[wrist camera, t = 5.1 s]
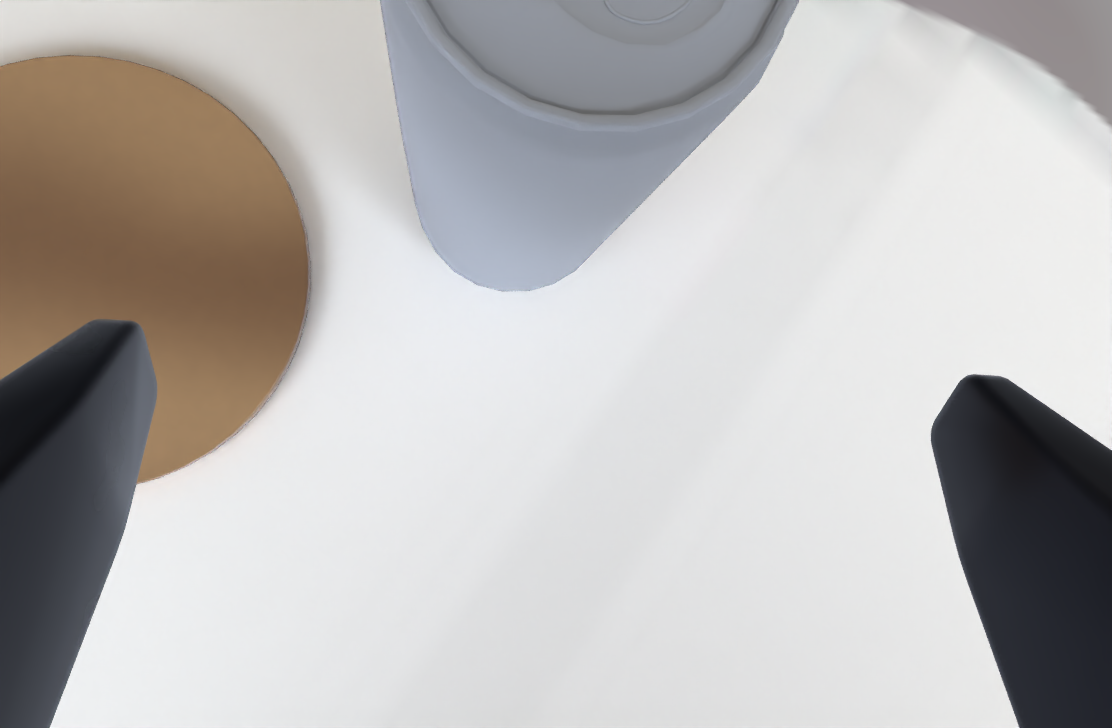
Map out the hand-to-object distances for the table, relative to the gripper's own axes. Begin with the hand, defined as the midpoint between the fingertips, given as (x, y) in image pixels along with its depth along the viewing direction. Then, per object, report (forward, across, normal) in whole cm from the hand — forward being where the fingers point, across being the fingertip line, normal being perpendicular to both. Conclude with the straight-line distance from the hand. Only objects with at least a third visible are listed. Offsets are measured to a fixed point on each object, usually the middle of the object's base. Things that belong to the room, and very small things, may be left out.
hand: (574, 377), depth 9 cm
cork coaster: (+10, +10, +6) cm, 15 cm away
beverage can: (+12, 0, +5) cm, 12 cm away
